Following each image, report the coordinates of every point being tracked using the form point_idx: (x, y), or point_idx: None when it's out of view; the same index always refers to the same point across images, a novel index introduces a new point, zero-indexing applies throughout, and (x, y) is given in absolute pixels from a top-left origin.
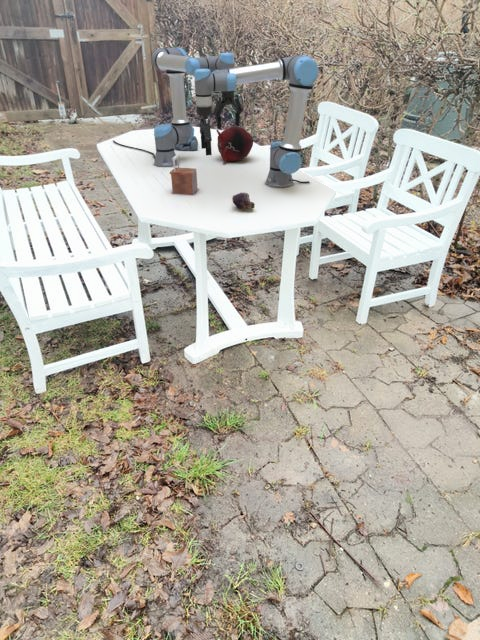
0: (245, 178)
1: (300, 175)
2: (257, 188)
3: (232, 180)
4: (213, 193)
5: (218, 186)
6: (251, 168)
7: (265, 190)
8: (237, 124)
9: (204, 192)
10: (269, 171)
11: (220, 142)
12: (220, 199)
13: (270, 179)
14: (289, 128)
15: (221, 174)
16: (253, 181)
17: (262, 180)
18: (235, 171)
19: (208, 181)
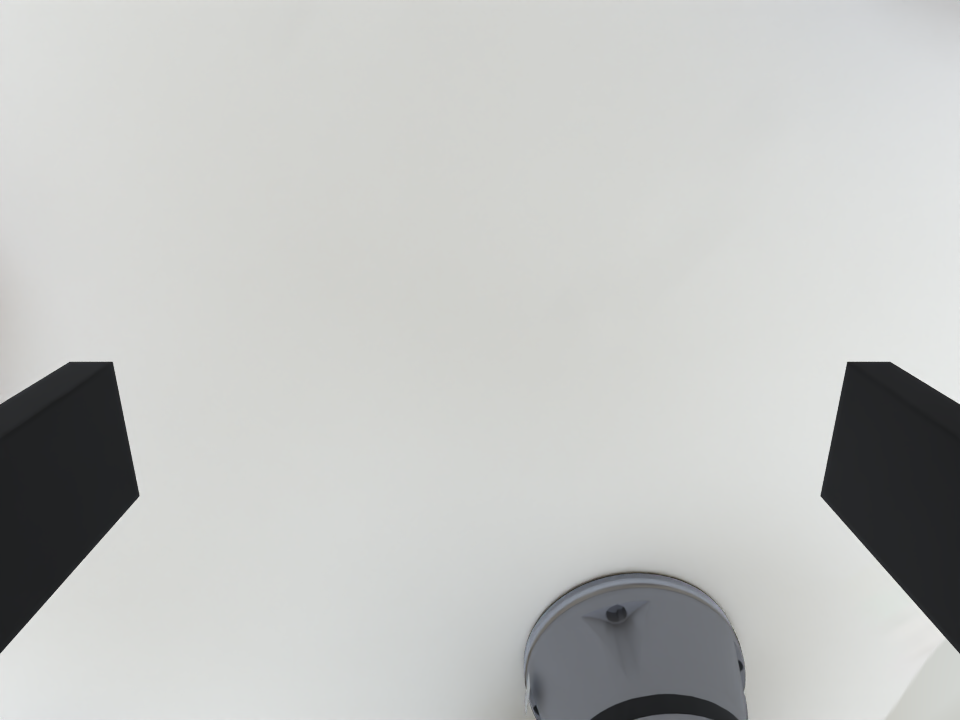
0: (530, 395)
1: (919, 633)
2: (419, 630)
3: (397, 358)
4: None
5: (189, 401)
6: (837, 186)
7: (433, 689)
8: (846, 480)
9: None
10: (578, 701)
11: None
12: (43, 625)
13: (526, 707)
14: None
15: (439, 122)
16: (521, 499)
17: (597, 529)
18: (630, 146)
19: (187, 222)
